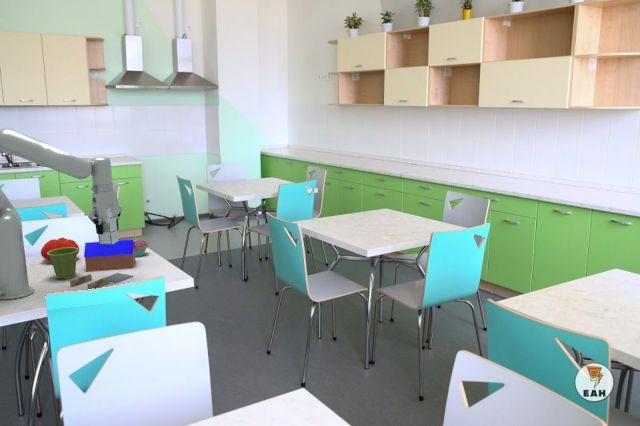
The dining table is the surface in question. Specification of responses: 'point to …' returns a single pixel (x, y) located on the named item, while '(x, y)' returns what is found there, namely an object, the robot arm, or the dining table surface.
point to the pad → (118, 277)
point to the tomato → (57, 246)
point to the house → (109, 255)
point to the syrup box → (108, 229)
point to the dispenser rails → (89, 278)
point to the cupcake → (140, 246)
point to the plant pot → (64, 261)
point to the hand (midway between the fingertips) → (107, 231)
